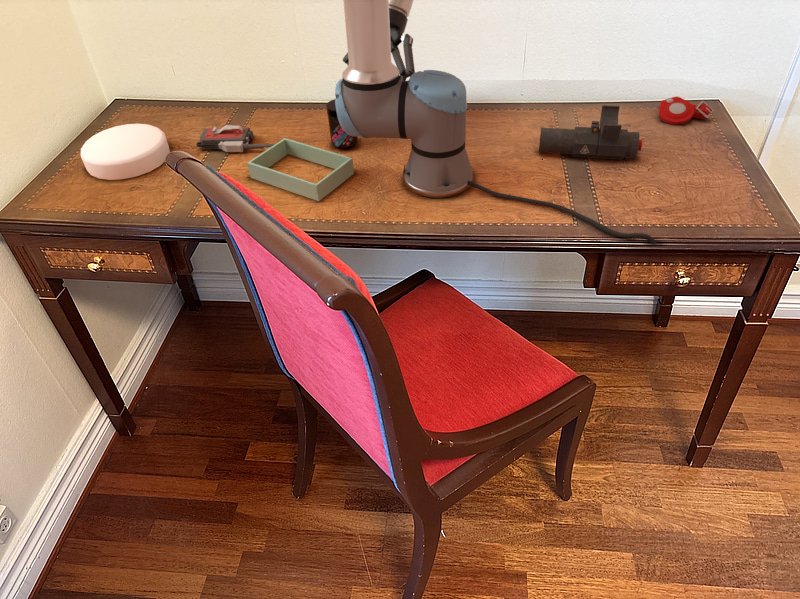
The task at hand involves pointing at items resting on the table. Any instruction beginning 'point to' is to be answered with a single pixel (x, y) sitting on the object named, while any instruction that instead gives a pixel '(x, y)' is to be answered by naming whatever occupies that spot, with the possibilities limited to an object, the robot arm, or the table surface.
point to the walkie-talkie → (228, 139)
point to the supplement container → (338, 130)
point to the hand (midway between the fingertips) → (368, 98)
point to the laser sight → (593, 139)
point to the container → (125, 151)
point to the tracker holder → (682, 111)
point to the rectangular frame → (296, 185)
